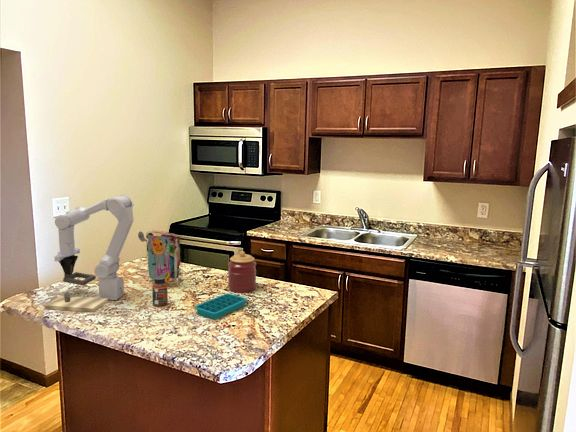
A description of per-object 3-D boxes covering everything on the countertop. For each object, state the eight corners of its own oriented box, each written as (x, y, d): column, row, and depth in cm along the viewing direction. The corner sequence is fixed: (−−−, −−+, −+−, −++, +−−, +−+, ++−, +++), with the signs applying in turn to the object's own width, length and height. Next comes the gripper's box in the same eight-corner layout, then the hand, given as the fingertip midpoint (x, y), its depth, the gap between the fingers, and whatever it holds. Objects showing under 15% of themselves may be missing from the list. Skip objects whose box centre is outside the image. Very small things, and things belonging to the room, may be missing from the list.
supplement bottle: (158, 308, 168) (157, 281, 167) (149, 304, 172) (148, 277, 170) (170, 304, 173) (170, 277, 171) (161, 300, 177) (161, 274, 175)
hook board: (107, 301, 174) (107, 290, 173) (93, 312, 163) (92, 299, 162) (62, 299, 175) (61, 287, 175) (44, 309, 165) (43, 296, 164)
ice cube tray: (192, 314, 164) (192, 307, 164) (227, 299, 181) (227, 292, 180) (214, 321, 158) (214, 314, 157) (248, 305, 174) (248, 298, 174)
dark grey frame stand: (95, 278, 184) (96, 265, 183) (83, 285, 175) (84, 271, 174) (71, 274, 185) (72, 261, 184) (58, 280, 176) (59, 267, 175)
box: (134, 279, 203) (132, 230, 199) (144, 276, 209) (142, 228, 205) (173, 288, 192) (172, 236, 188) (182, 284, 197) (182, 234, 193)
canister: (254, 293, 188) (255, 255, 185) (225, 292, 188) (225, 254, 185) (257, 284, 201) (257, 248, 198) (230, 283, 201) (230, 247, 198)
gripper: (68, 238, 185) (70, 268, 187) (46, 245, 171) (48, 278, 173) (83, 239, 184) (85, 269, 186) (62, 246, 170) (65, 278, 172)
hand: (68, 273), depth 180 cm, fingers closed on dark grey frame stand
